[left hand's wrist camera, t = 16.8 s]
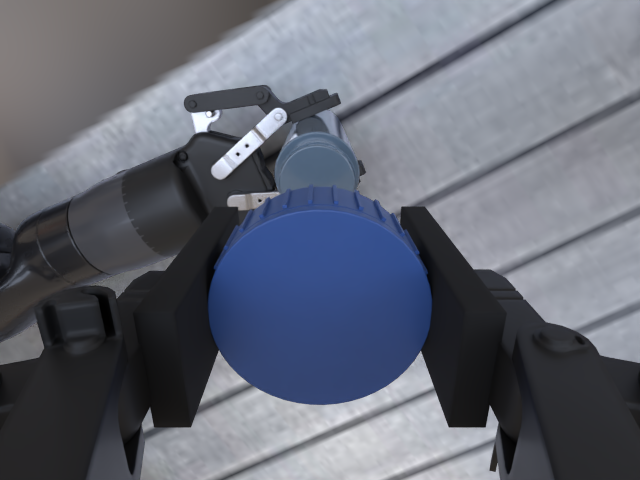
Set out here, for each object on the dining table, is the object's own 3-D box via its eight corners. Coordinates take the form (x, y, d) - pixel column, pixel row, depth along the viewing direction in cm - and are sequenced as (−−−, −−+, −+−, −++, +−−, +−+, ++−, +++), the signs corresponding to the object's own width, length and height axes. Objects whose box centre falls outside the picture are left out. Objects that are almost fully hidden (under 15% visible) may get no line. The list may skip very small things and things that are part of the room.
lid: (190, 217, 11) (164, 246, 9) (392, 155, 11) (407, 173, 9) (261, 377, 13) (251, 428, 11) (435, 333, 13) (455, 378, 11)
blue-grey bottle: (354, 129, 38) (381, 174, 21) (322, 171, 39) (325, 243, 23) (312, 96, 37) (307, 116, 20) (280, 139, 38) (252, 191, 22)
